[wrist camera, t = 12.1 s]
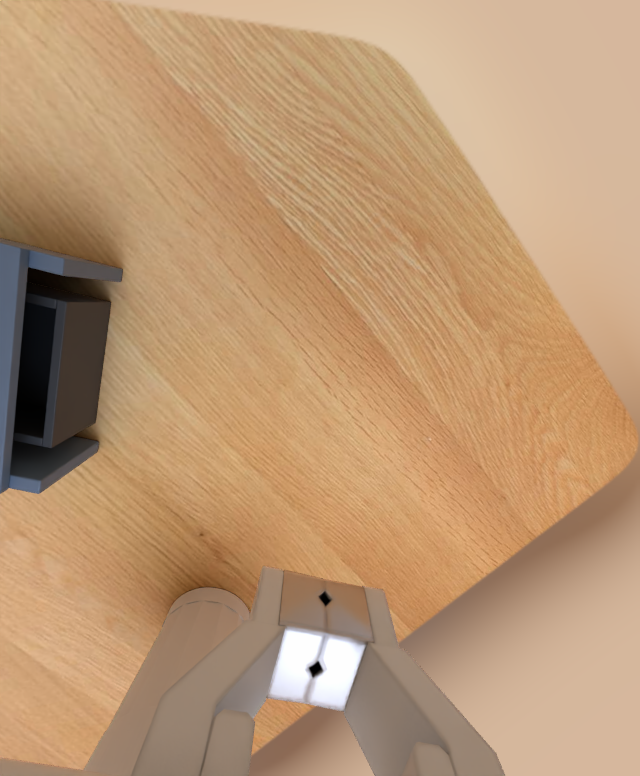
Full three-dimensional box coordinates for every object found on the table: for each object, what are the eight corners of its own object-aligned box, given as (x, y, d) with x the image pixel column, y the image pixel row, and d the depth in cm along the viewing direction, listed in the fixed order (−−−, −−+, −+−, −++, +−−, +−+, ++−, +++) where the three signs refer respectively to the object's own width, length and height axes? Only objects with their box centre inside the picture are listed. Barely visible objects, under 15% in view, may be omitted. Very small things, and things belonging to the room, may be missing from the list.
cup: (253, 571, 28) (216, 764, 16) (269, 659, 30) (247, 891, 18) (145, 585, 28) (29, 790, 16) (167, 673, 30) (77, 915, 18)
